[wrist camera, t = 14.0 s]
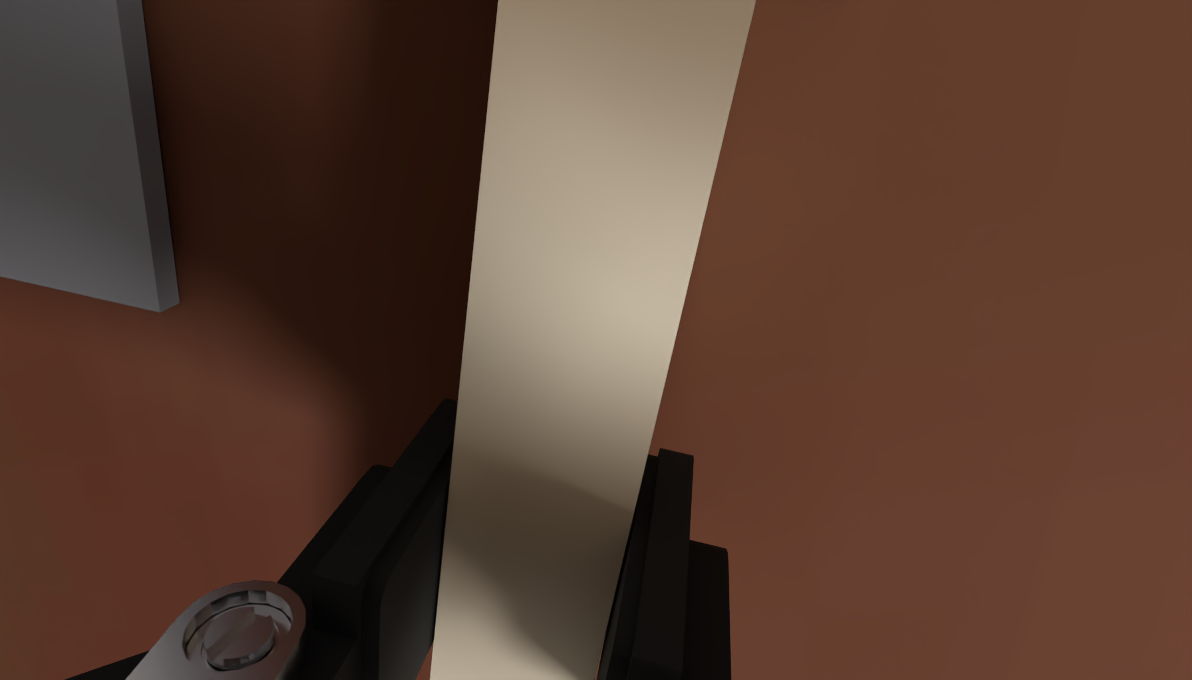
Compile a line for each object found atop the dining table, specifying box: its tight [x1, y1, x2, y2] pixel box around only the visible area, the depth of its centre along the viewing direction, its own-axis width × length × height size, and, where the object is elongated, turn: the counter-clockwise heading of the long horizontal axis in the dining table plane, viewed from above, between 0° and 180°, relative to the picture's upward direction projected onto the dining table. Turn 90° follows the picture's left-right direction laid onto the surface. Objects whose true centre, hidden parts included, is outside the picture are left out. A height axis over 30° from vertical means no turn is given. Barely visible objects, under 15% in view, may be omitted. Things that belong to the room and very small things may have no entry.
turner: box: [430, 0, 756, 680], centre depth 9 cm, size 15×5×5 cm, turn 170°
